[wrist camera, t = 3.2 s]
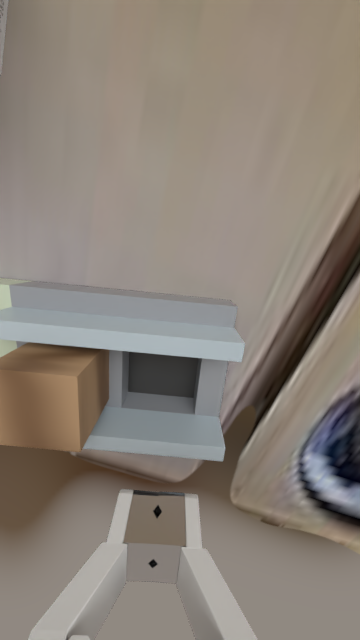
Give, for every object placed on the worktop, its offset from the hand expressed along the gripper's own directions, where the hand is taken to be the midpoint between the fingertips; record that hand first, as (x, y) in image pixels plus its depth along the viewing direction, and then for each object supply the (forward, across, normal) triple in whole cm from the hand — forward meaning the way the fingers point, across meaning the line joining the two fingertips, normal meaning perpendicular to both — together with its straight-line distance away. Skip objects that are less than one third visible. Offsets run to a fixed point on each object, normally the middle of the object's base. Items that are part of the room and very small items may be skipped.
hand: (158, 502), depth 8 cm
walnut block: (+9, +7, 0) cm, 12 cm away
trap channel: (+12, +8, 0) cm, 14 cm away
